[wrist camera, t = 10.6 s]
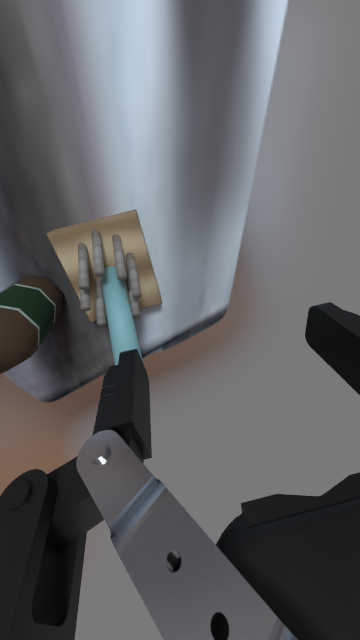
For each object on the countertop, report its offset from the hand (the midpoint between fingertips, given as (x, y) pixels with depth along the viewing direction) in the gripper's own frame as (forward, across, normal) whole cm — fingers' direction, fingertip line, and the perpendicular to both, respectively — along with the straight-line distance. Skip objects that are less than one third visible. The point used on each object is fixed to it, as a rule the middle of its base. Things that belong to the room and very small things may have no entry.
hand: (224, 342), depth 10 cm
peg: (+24, +9, +3) cm, 26 cm away
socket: (+28, +10, +3) cm, 30 cm away
